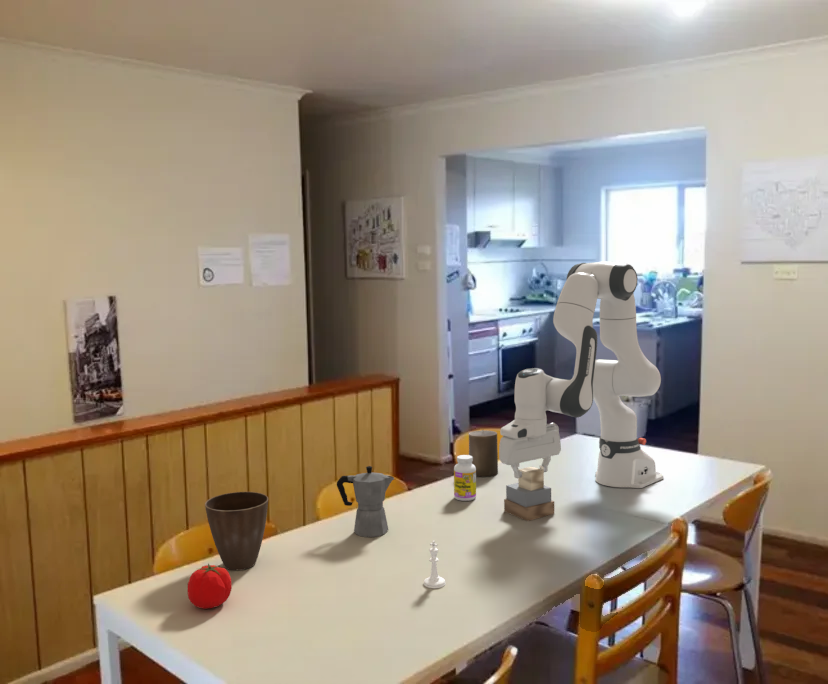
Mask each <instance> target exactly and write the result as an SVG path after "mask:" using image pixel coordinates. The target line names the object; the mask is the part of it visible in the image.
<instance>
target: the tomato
mask: <svg viewBox="0 0 828 684" xmlns="http://www.w3.org/2000/svg"><path fill="white" fill-rule="evenodd" d="M232 587H233V585H232V578H231V575H230V573H229V571H228V569H227V568H224V567H221V566H217V565H214V564H209V562H208V563H207V564H206V565H202V566H201V567H200V568H197V569H196V570H195V571H193V572H192V573H191V575H190V577H189V579H188V582H187V597H188V600H189V602H190V603H191V604H192V605H194V607H196V608H200V609H212V608H216V607H219V606H221V605H222V604H224V603H225V602H227V600H229V599H228V598H230V596H231V592H232V589H233V588H232Z"/></svg>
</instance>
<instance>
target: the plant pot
mask: <svg viewBox="0 0 828 684" xmlns="http://www.w3.org/2000/svg"><path fill="white" fill-rule="evenodd" d="M268 504H269V497H268V496H267V495H266V494H264V493H260V492H255V491H236V492H235V491H234V492H229V493H224V494H223V493H222V494H220V495H215V496H212V497H211V498H208V499H207V500H206V502H205V503H204V508H205V511H206V518H207V521H208V522H207V523H208V526H209V528H210V533H211V536H212V539H213V542H214V545H215V548H216V550H217V552H218V556H219V557H220V559H221V562H222V564H223V566H224V567H225V569H226V570H231V571H243V570H247V569H250V568H252V567H253V566H255V565H256V563H257V560H258V557H259V553H260V551H261V547H262V542H263V539H264V534H265V529H266V523H267V522H266V521H267V517H268V516H267V515H268V507H269V506H268Z"/></svg>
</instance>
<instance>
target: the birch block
mask: <svg viewBox="0 0 828 684" xmlns="http://www.w3.org/2000/svg"><path fill="white" fill-rule="evenodd" d="M518 469H519V471H521V472H522V478H518V482H517V483H518V484H519V487H521V488H524V489H527V490H530V491H532V490H536V489H540V488H543V487H544V484H545V481H544V479H545V477H544V476H545V475H544V473H545V472H544V470H542V469H540V468H538V467H534V466H527V467H523V468H518Z"/></svg>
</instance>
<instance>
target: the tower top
mask: <svg viewBox="0 0 828 684" xmlns="http://www.w3.org/2000/svg"><path fill="white" fill-rule="evenodd" d="M505 488H506V490H505V492H506V494H505V495H506V496H505V497H506V498H505V499H508V500H510V501H512V502H515V503H517V504H519V505H521V506H524V507H530V506H534V505H539V504H543V503H548V502H551V500H552V487H550V486H548V485H544V487H543V488H540V489H536V490H532V491H530V490H527V489H524V488H521V487H519V484H518V482H517V483H516V482H515V483H510V484H507V485H506V486H505Z"/></svg>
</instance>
